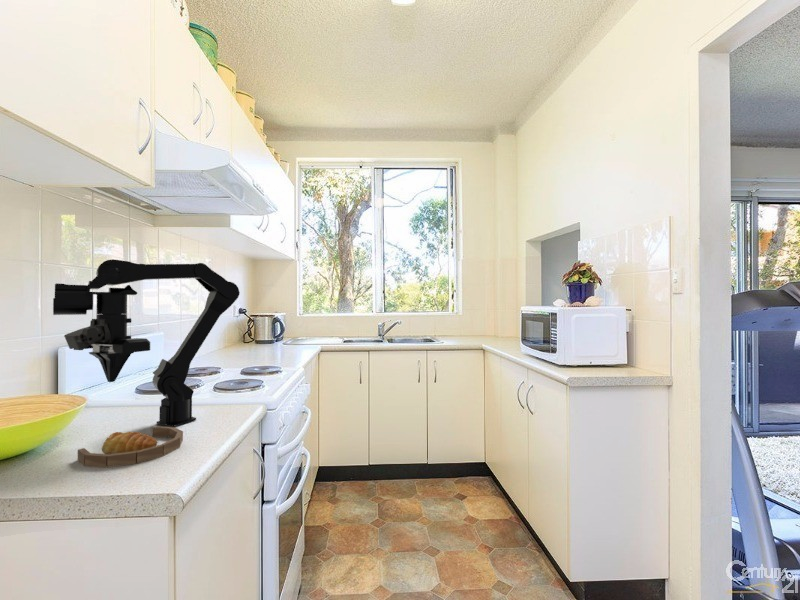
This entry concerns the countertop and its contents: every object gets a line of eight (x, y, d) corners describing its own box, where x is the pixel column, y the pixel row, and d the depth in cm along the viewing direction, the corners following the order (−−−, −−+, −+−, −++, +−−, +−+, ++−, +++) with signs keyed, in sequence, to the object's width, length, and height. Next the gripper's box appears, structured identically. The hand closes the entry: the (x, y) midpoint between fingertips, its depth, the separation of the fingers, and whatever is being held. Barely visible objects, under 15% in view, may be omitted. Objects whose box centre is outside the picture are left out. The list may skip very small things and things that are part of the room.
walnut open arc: (160, 433, 89) (160, 424, 89) (202, 441, 84) (202, 432, 84) (70, 462, 73) (70, 451, 73) (115, 473, 68) (115, 462, 68)
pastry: (165, 445, 82) (165, 427, 82) (143, 458, 75) (143, 439, 76) (122, 445, 82) (122, 427, 82) (96, 458, 76) (96, 438, 76)
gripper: (46, 314, 86) (45, 385, 86) (99, 315, 79) (98, 392, 78) (101, 313, 96) (100, 376, 96) (152, 314, 89) (151, 382, 89)
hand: (111, 381), depth 89 cm, fingers closed
